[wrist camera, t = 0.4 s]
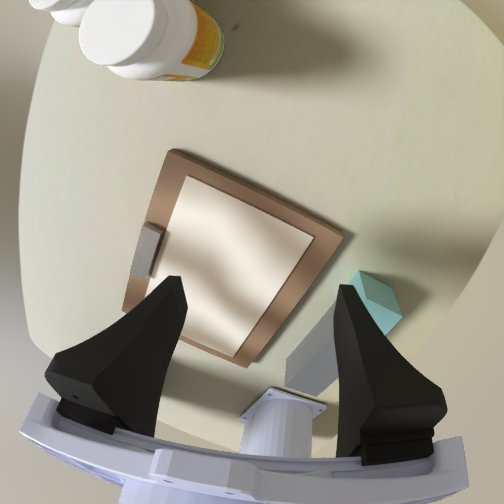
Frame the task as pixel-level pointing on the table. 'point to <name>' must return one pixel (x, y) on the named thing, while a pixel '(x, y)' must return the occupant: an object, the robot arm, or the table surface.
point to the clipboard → (227, 256)
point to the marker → (322, 338)
